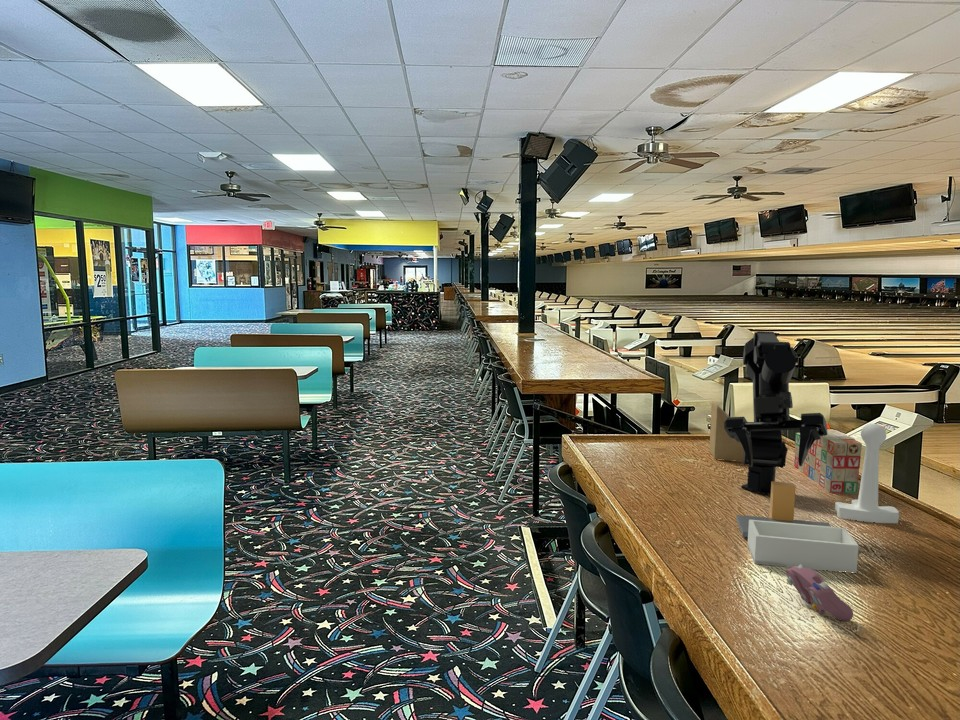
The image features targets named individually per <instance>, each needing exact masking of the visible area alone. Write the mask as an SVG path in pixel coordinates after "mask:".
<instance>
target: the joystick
mask: <svg viewBox="0 0 960 720" xmlns="http://www.w3.org/2000/svg"><path fill="white" fill-rule="evenodd" d="M860 438H861V440H863V442H864V444H865V450H864V451H865V452H864V456H863V457H864V458H863V465H862V471H861V476H860V477H861V478H860V484H859V492H858V497H857V499H851V503H848V502H847V503H846V502H842V501H841V502H840V501H836V502H834V503H835V504H834V512H836V517H838V518H840V519H843V520H850V519H851V520H850V521H855V520H857V522H863V521H864V522H863V523H873V522H875V524H877V523H878V524H898V523H899V519H900V518H899V516H900V511H899V510H898V509H897V508H896V507H894V506H892V505H891V506H889V505H886V506H879V477H880V476H879V474H880V473H879V471H880V470H879V469H880V467H879V465H880V448H881V445H882V444H884V442H885V441H886V440H887V439H886V438H887V431H886V429H885V428H884V427H883V426H882V425H880V424H877V423H868V424H866V425H865V426H863V427H862V428H861V431H860Z"/></svg>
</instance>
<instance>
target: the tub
mask: <svg viewBox="0 0 960 720" xmlns="http://www.w3.org/2000/svg"><path fill="white" fill-rule="evenodd" d="M747 547H748V550H749V553H750V555H751V558H752V561H753V563H754V564H755V565H765V566H776V567H785V568H791V567H793V566H799V565H800V564H801V565H802V566H803V567H804V568H808V569H811V570H813V571H822V570H825V571H824V572H832V571H844V572H845V571H846V572H854V573H856V574H857V572H858V571H857V570H858V560H859V559H858V557H859V548H860V547H859V544H858V543H857V542H856V540H855V539H854V538H853V536H851V534H850V533H849V531H848V530H847V529H846V528H845V527H839V526H831V527H829V526H818V525H806V524H795V523H783V522H772V521H760V520H749V527H748V537H747ZM826 570H828V571H826Z"/></svg>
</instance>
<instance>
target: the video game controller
mask: <svg viewBox="0 0 960 720" xmlns="http://www.w3.org/2000/svg"><path fill="white" fill-rule="evenodd" d="M785 574H786V576H787V578H786V582H787V584H788V585H790V586H792V587H794V588H795V589H796V591H797V592H798V594H799V595H800V597H801V598H802V599H803V601H804V602H805V603H807V604H809V603H810V604H811V607H812V609H814V610H815V611H816V612H817V613H818V614H824V613H825V612H827V613H828V614H829V615H831V616H832V617H834V618H835V619H838V620H840V621H843V622H848V621H851V620H852V619H853V617H854V611H853V609H852V608H851V606H850V605H849V604H847V603H846V602H845V601H844V600H842V599H841V598H840V597H839V596H838V595H837V594H836V592H835V591H834V590H833V589H832V588H831V586H830V585H829V584H828V583H826V582H825V580H824V579H823V578H822V576H821V575H820V574H819V573H818V572H817V571H816V570H812V569H808V568H804V567H803V566H802V565H801V564H800V565H799V566H793V567H788V569H786V570H785Z"/></svg>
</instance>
